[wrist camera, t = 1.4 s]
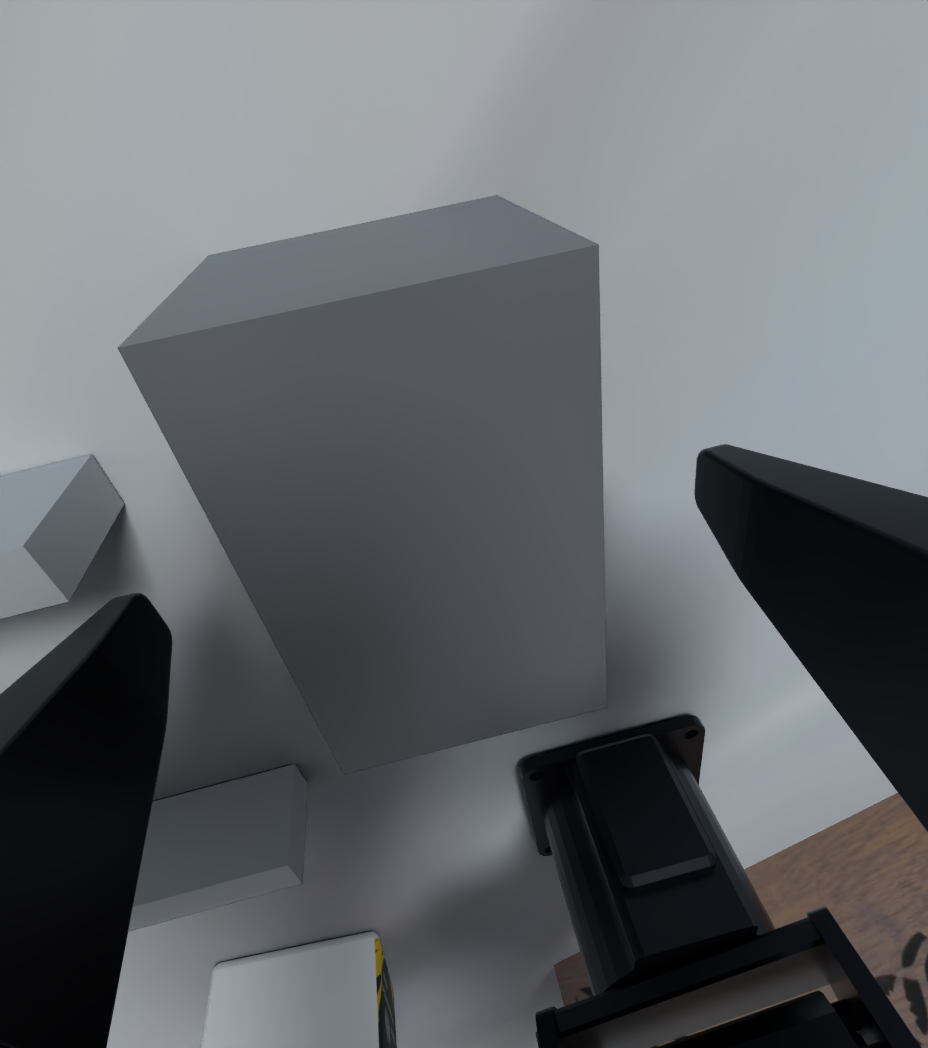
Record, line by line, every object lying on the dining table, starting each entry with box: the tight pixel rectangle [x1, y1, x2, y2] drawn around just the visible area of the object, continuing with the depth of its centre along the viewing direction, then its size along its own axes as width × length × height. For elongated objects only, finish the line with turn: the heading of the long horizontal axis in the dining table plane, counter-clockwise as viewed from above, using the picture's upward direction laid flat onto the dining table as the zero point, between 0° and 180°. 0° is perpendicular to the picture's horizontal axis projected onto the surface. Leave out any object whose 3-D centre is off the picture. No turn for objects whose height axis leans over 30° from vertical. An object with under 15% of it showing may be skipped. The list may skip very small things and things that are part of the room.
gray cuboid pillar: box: [118, 195, 607, 774], centre depth 10 cm, size 8×5×5 cm, turn 9°
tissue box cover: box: [554, 793, 928, 1048], centre depth 29 cm, size 26×14×10 cm, turn 130°
